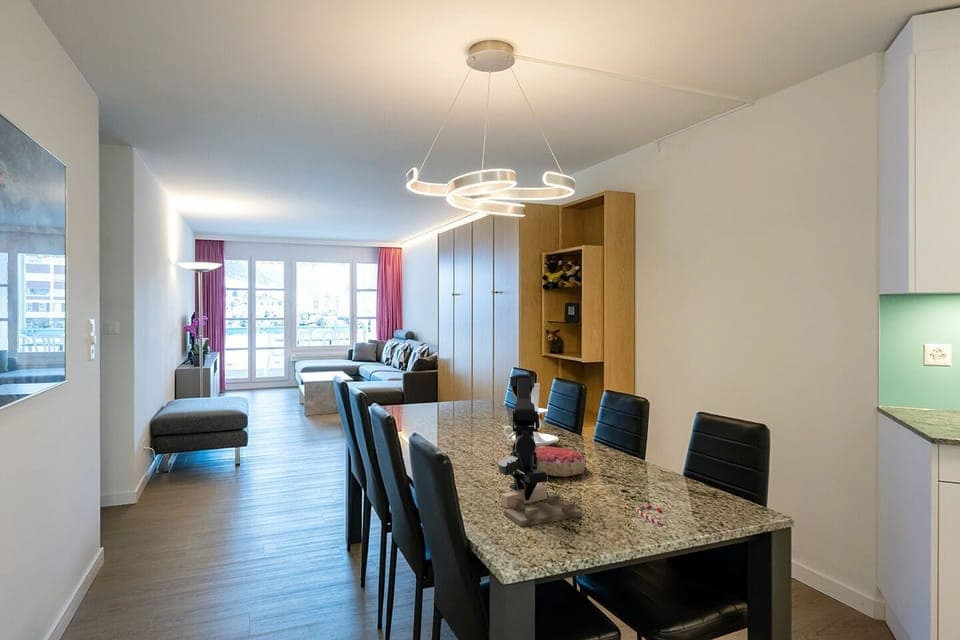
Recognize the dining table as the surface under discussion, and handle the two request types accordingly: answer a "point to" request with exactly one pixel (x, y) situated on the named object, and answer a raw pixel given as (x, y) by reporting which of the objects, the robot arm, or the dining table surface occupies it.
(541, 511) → the tabbed beige plate
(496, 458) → the dining table surface
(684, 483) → the dining table surface
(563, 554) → the dining table surface
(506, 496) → the clay strip
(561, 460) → the cake
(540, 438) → the candlestick
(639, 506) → the candy cane
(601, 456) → the dining table surface
